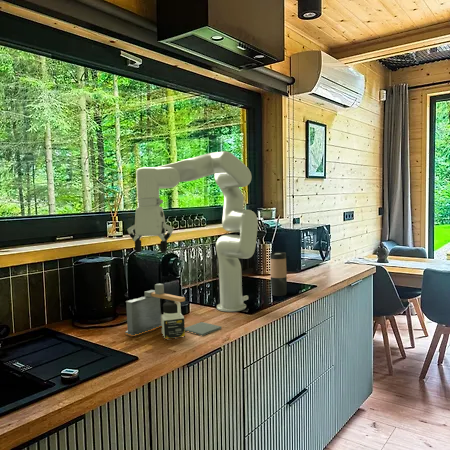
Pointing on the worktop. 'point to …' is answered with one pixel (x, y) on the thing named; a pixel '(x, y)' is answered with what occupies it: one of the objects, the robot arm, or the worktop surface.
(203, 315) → the worktop surface
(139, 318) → the rail
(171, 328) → the medicine bottle
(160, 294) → the bar
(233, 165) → the robot arm
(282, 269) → the travel mug
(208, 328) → the slate coaster
